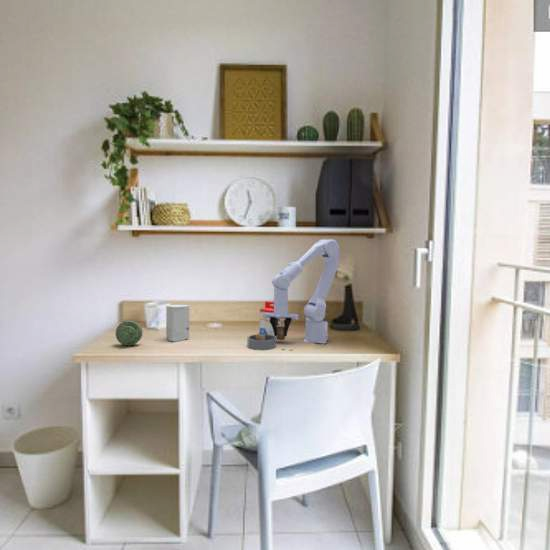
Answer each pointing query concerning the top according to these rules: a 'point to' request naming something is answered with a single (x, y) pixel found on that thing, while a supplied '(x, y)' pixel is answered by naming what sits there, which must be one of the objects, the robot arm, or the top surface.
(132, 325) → the decorative artifact
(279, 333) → the loose walnut peg
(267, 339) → the charcoal cup
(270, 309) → the ink box
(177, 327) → the skincare box
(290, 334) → the top surface
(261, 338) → the walnut peg in cup
